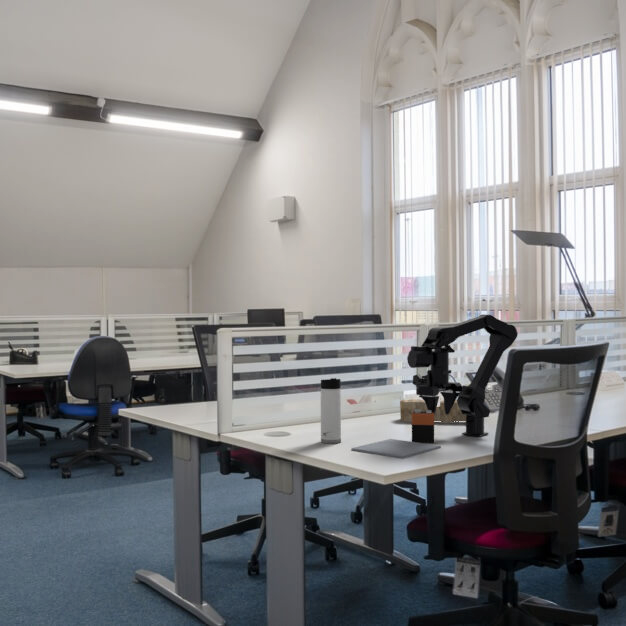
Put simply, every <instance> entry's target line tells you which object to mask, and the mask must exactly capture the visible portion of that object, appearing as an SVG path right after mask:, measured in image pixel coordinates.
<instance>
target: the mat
mask: <svg viewBox="0 0 626 626" xmlns="http://www.w3.org/2000/svg"><path fill="white" fill-rule="evenodd" d="M440 448H441V449H442V446H441V445H439V444H434V443H418V442H412V441H411V440H410V441H409V440H402V439H395V438H389V439H385V440H381V441H376V442H372V443H368V444H363V445H359V446H355V447H351V451H354V452H361V453H367V454H372V455H373V454H375V455H380V456H387V457H393V458H400V459H405V458H408V457H412V456H416V455H419V454H422V453H427V452H431V451H434V450H437V449H440Z"/></svg>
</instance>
